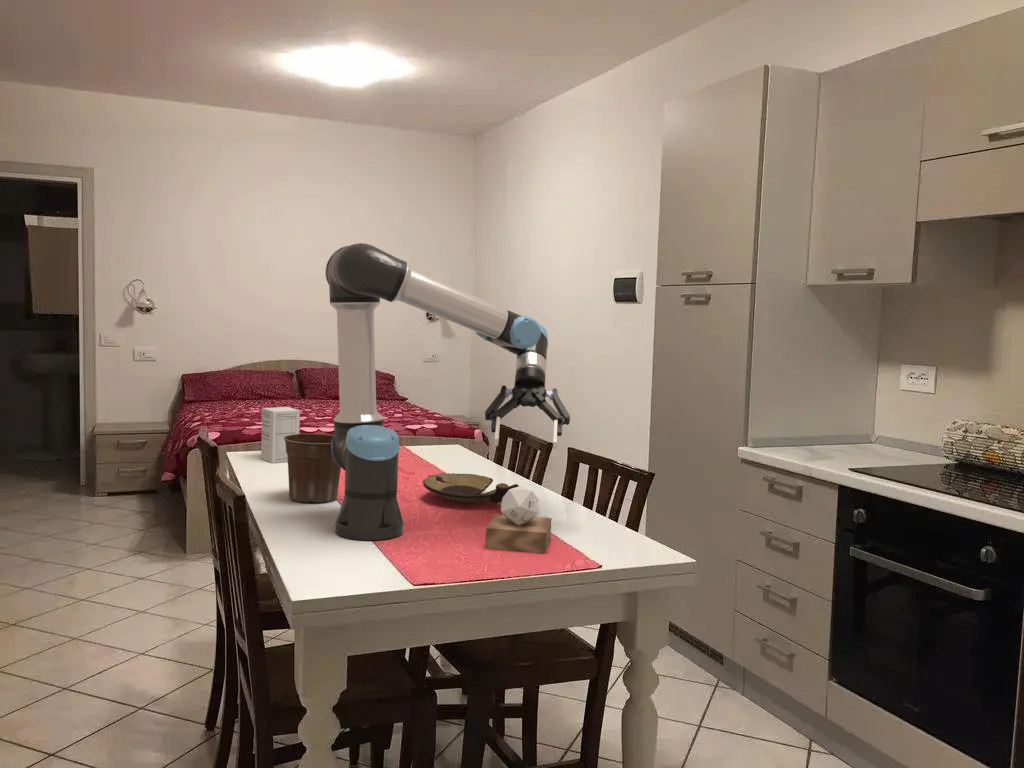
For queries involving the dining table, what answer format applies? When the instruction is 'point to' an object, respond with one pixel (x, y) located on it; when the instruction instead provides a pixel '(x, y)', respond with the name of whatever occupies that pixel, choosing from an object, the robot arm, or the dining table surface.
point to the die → (520, 505)
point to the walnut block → (518, 535)
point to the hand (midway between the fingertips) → (525, 444)
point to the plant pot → (312, 468)
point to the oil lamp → (466, 488)
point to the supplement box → (277, 432)
